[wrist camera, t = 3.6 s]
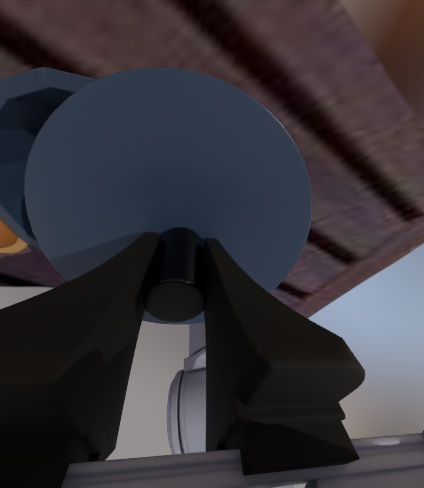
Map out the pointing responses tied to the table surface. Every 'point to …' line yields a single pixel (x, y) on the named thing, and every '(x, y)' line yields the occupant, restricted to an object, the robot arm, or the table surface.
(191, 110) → the lid
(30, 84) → the pot
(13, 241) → the ball in tan cup
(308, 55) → the table surface
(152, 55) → the table surface
